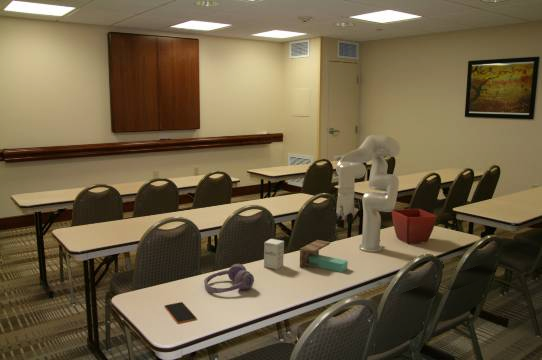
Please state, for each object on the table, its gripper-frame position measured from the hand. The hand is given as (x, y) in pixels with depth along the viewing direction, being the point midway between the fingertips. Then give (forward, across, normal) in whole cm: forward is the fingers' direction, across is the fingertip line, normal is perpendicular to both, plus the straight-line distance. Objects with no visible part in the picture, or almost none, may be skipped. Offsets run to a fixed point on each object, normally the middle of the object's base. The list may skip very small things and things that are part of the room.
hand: (345, 225), depth 223 cm
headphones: (+19, +55, -28) cm, 65 cm away
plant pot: (+23, -64, +13) cm, 70 cm away
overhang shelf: (+20, +6, -13) cm, 25 cm away
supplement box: (+20, +22, -27) cm, 40 cm away
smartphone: (+18, +84, -27) cm, 90 cm away
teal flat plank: (+20, +6, -6) cm, 22 cm away
